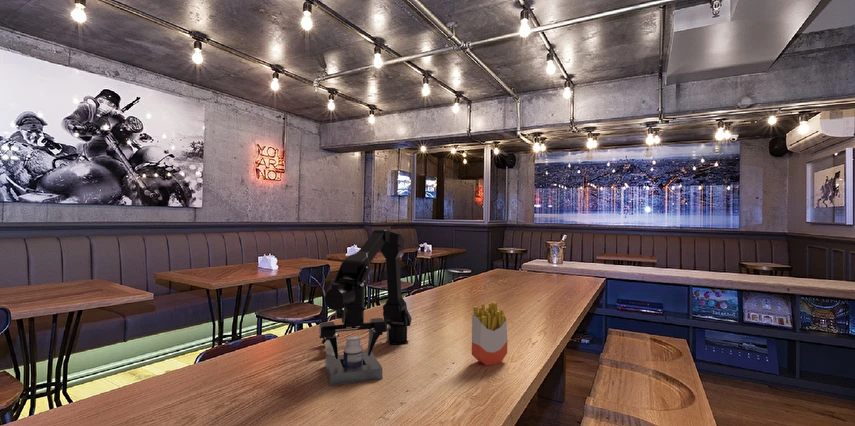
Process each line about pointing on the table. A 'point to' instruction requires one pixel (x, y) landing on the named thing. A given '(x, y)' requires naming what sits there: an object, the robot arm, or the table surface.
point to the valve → (329, 346)
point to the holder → (352, 370)
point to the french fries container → (489, 334)
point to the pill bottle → (353, 352)
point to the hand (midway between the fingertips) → (352, 357)
